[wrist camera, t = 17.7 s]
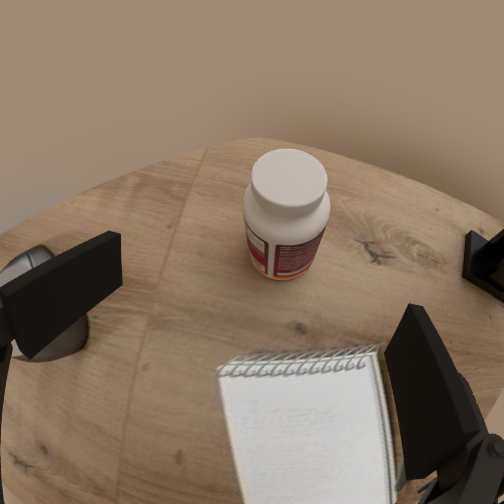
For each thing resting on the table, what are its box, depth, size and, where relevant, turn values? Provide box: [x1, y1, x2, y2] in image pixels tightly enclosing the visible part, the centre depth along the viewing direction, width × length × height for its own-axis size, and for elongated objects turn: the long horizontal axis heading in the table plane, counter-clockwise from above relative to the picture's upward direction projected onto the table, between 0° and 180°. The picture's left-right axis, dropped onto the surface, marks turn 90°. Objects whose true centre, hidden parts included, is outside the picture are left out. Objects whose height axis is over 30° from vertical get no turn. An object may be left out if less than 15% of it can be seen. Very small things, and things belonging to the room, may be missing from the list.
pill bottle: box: [243, 149, 330, 280], centre depth 21 cm, size 6×6×11 cm
